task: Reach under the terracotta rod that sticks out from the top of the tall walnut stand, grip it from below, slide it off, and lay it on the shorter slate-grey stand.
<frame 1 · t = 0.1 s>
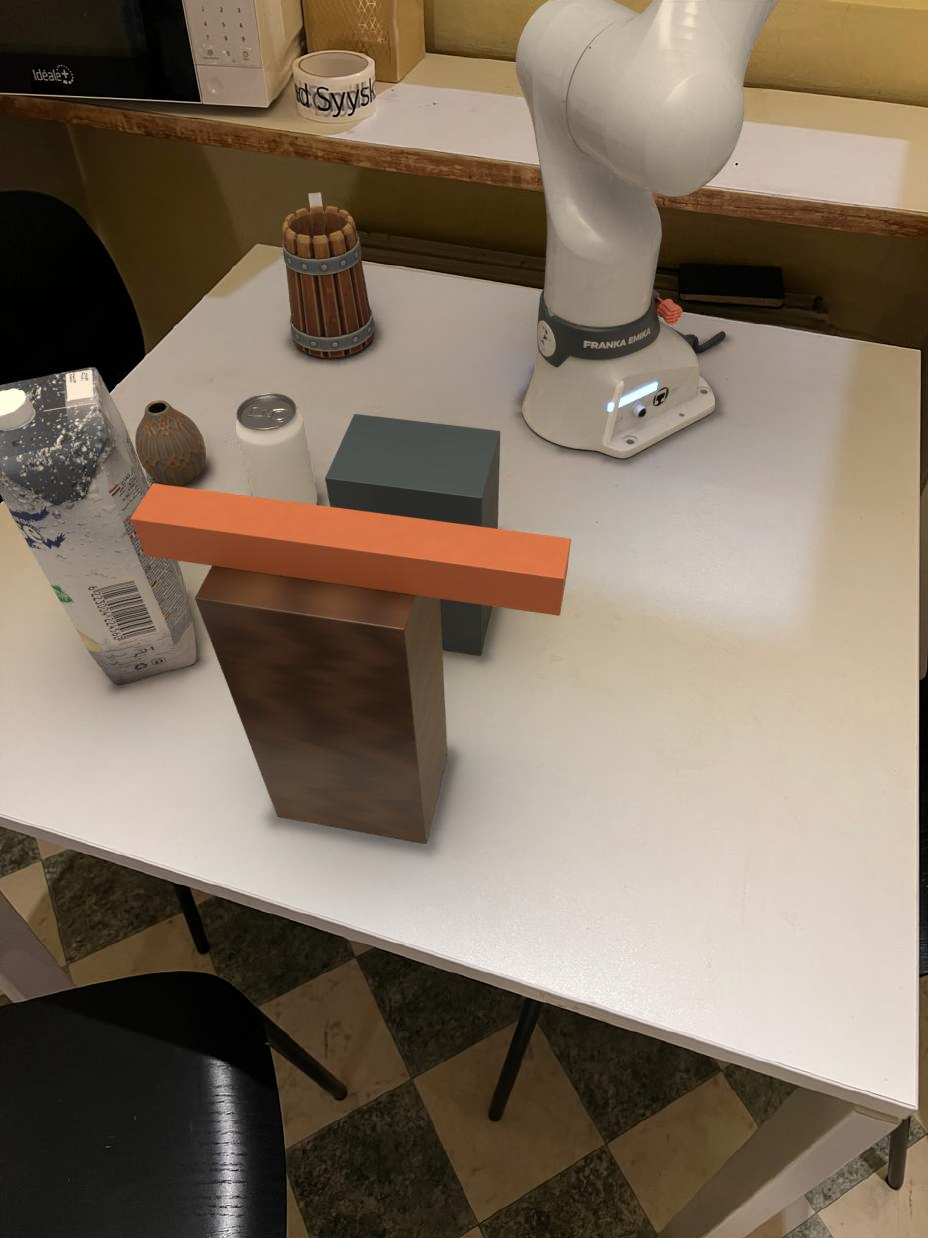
can: (287, 506, 91), on the table
mug: (333, 328, 112), on the table
rod: (353, 566, 49), point 26 cm above the table, touching tall stand
lower stand: (425, 613, 81), on the table
vase: (180, 475, 94), on the table
tall stand: (364, 785, 69), on the table
juice carton: (151, 642, 79), on the table
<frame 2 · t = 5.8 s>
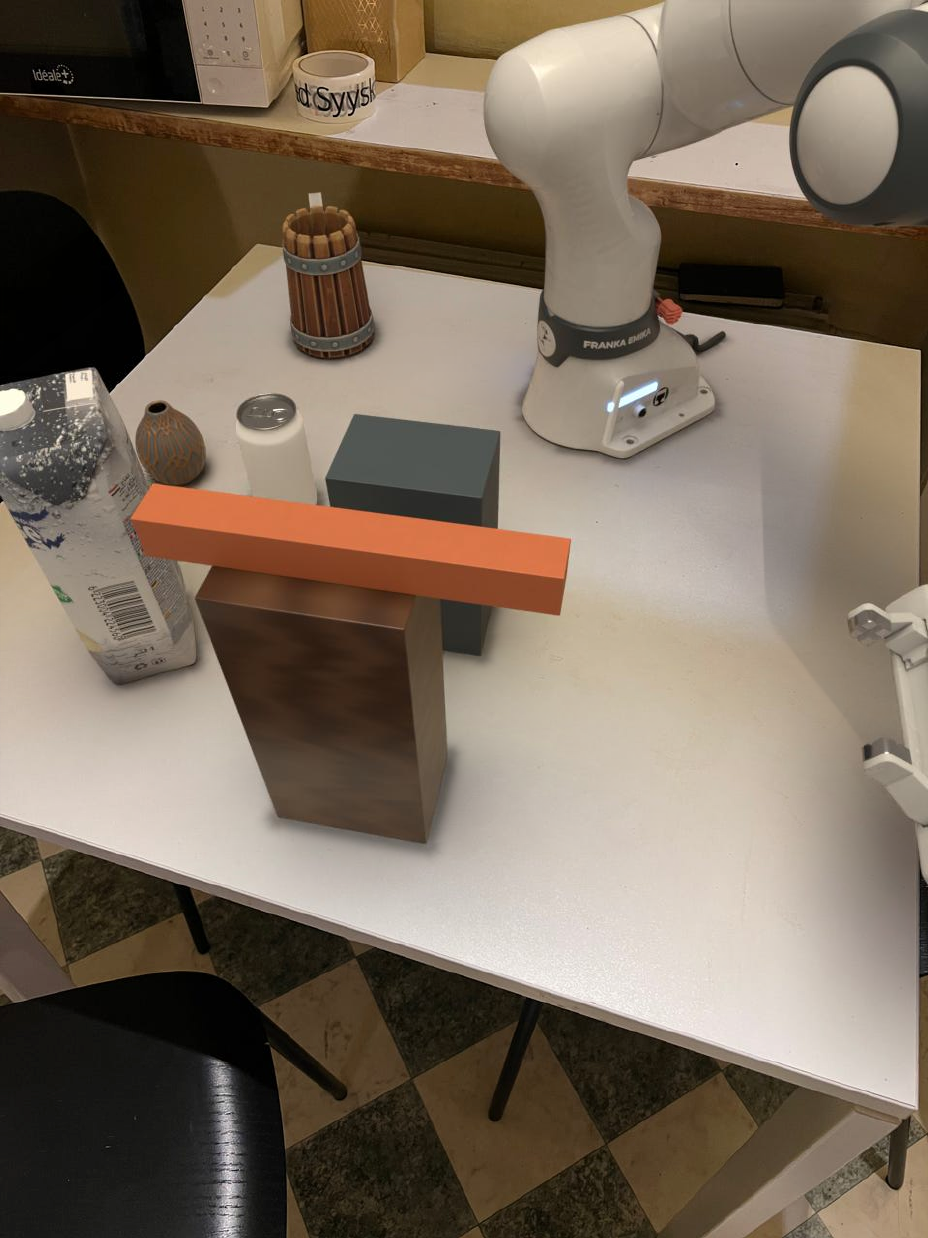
hand: (863, 681, 48), 22 cm above the table, tool pointing upward, fingers open, 8 cm apart
nothing on the table moved.
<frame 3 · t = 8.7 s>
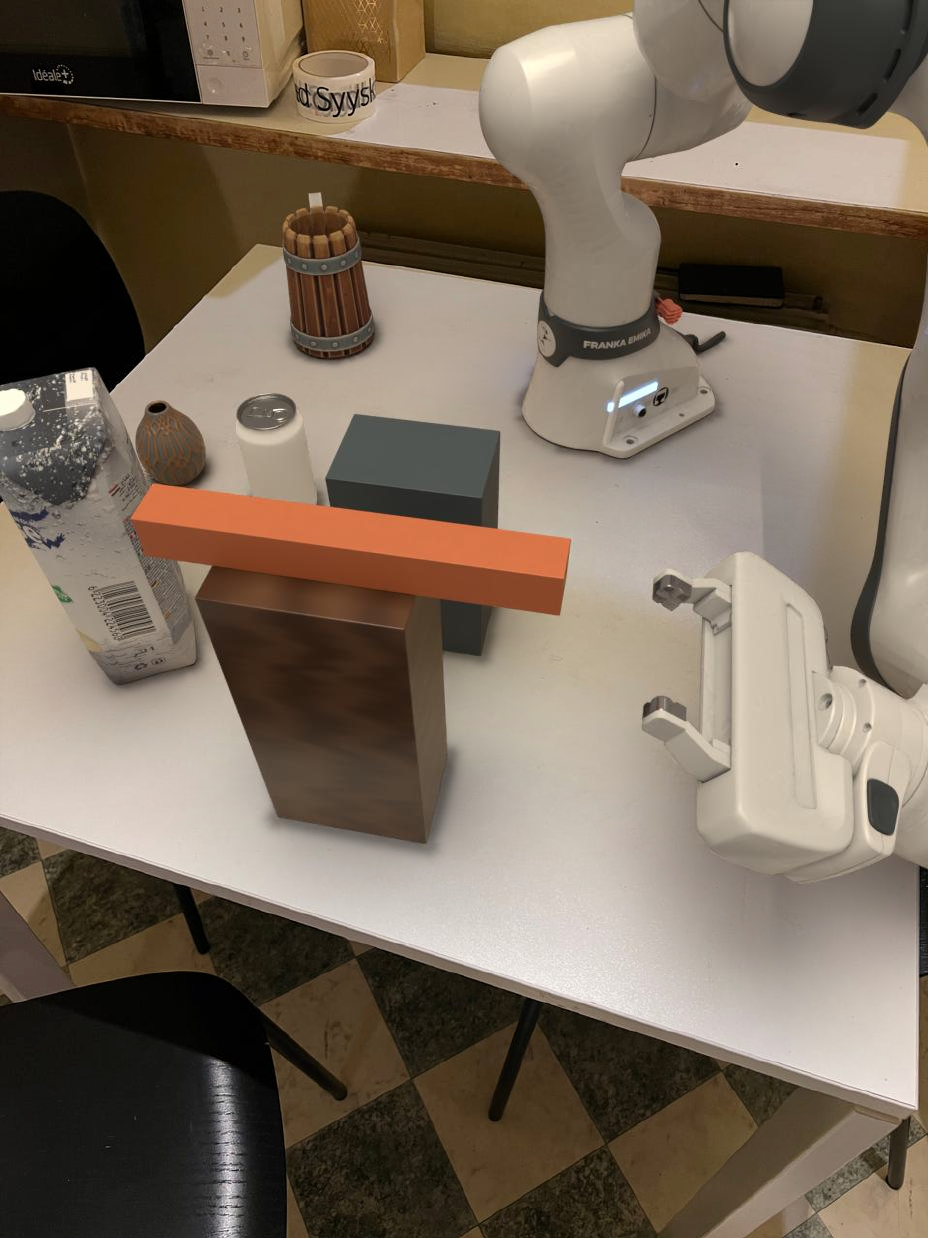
hand: (654, 642, 49), 23 cm above the table, tool pointing upward, fingers open, 8 cm apart
nothing on the table moved.
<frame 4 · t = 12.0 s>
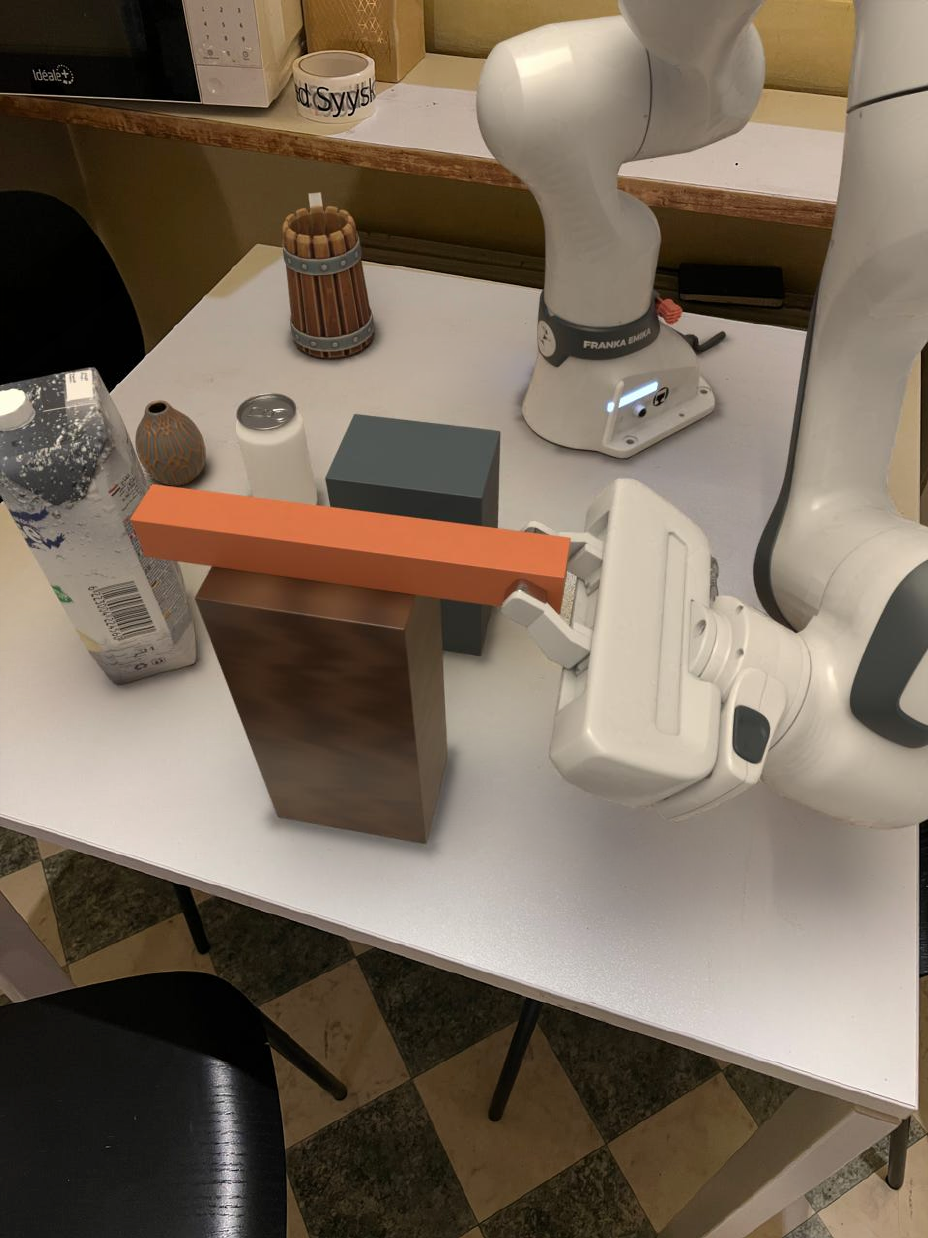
hand: (514, 564, 46), 28 cm above the table, tool pointing upward, fingers closed on rod, 3 cm apart
rod: (353, 566, 49), point 26 cm above the table, touching gripper, tall stand
everything else where it was.
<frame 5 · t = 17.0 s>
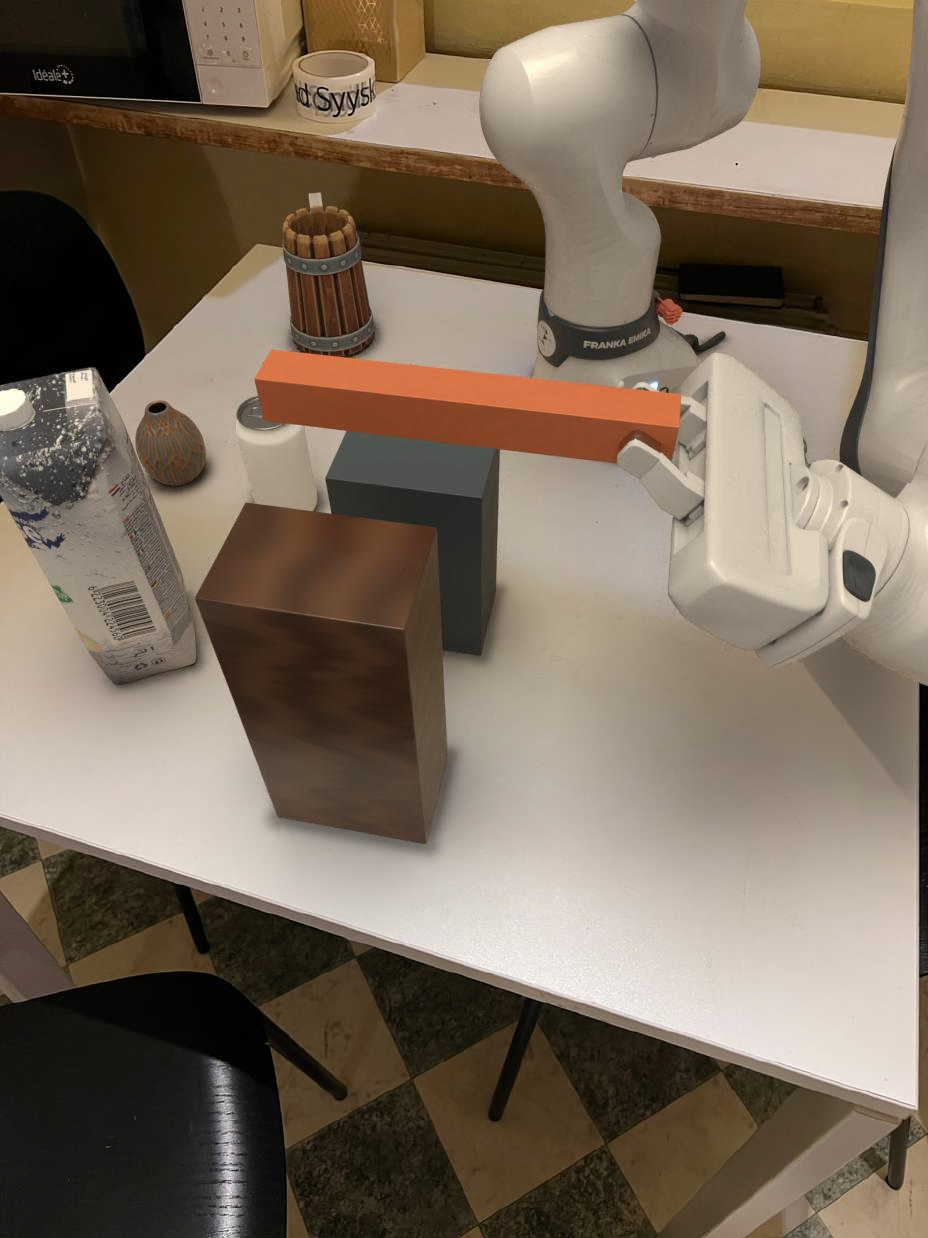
hand: (627, 420, 48), 32 cm above the table, tool pointing upward, fingers closed on rod, 3 cm apart
rod: (465, 428, 51), point 30 cm above the table, touching gripper
everything else where it was.
when the fingers open (21 cm above the table, at t = 22.2 s): rod stays where it is, resting on lower stand.
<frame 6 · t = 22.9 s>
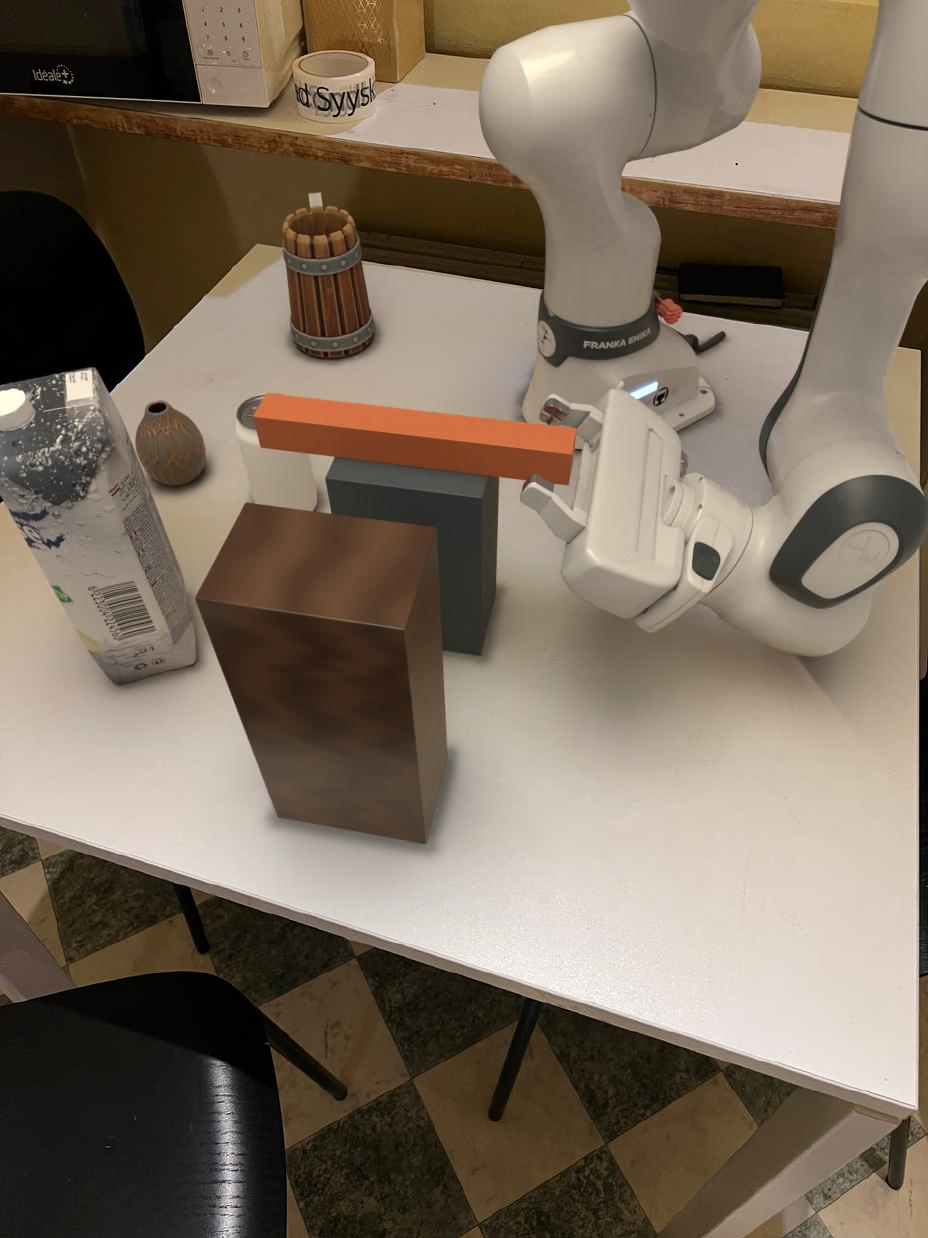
hand: (535, 443, 63), 21 cm above the table, tool pointing upward, fingers open, 8 cm apart
rod: (415, 453, 66), point 19 cm above the table, touching lower stand
everything else where it was.
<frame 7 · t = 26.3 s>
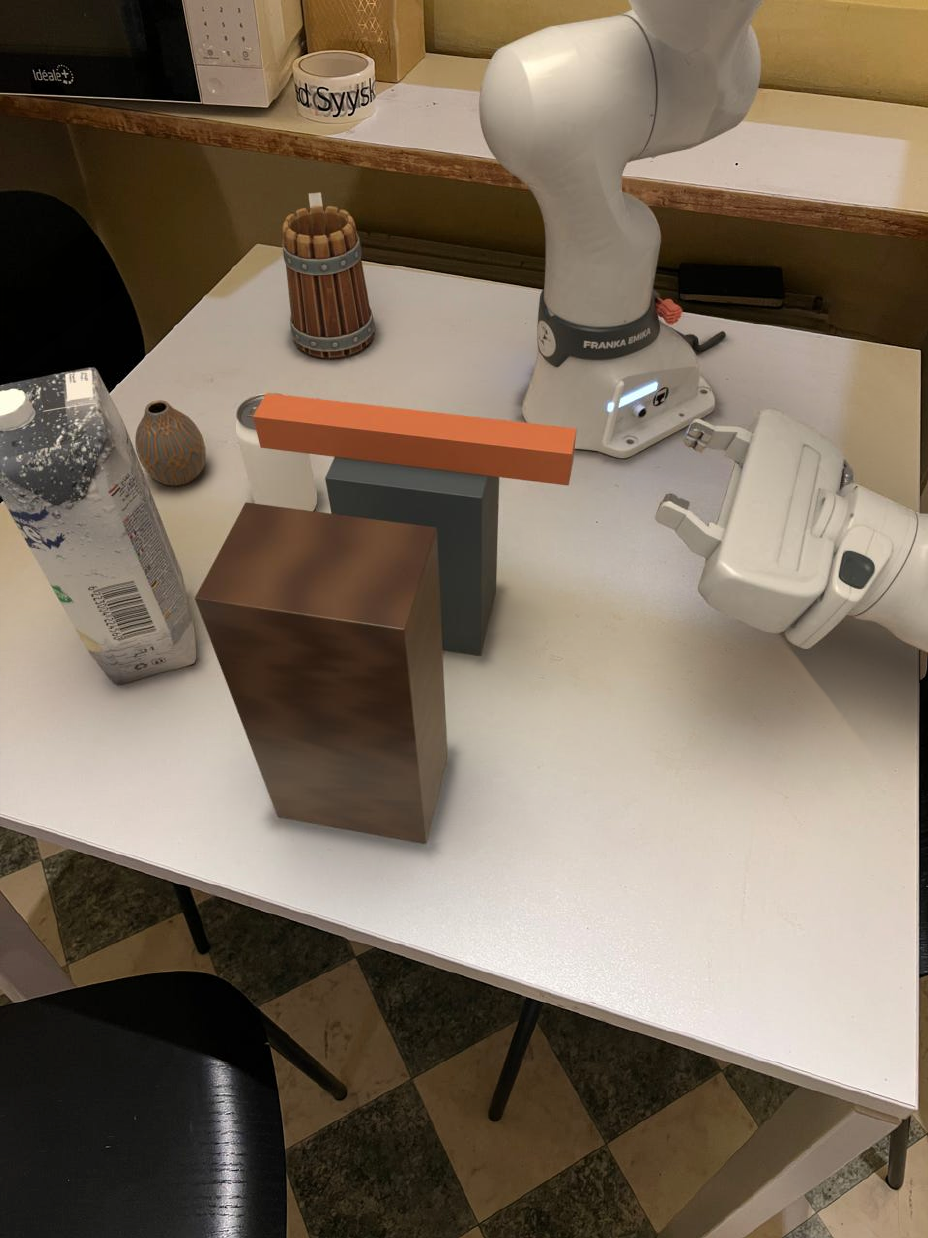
hand: (674, 466, 65), 19 cm above the table, tool pointing upward, fingers open, 8 cm apart
nothing on the table moved.
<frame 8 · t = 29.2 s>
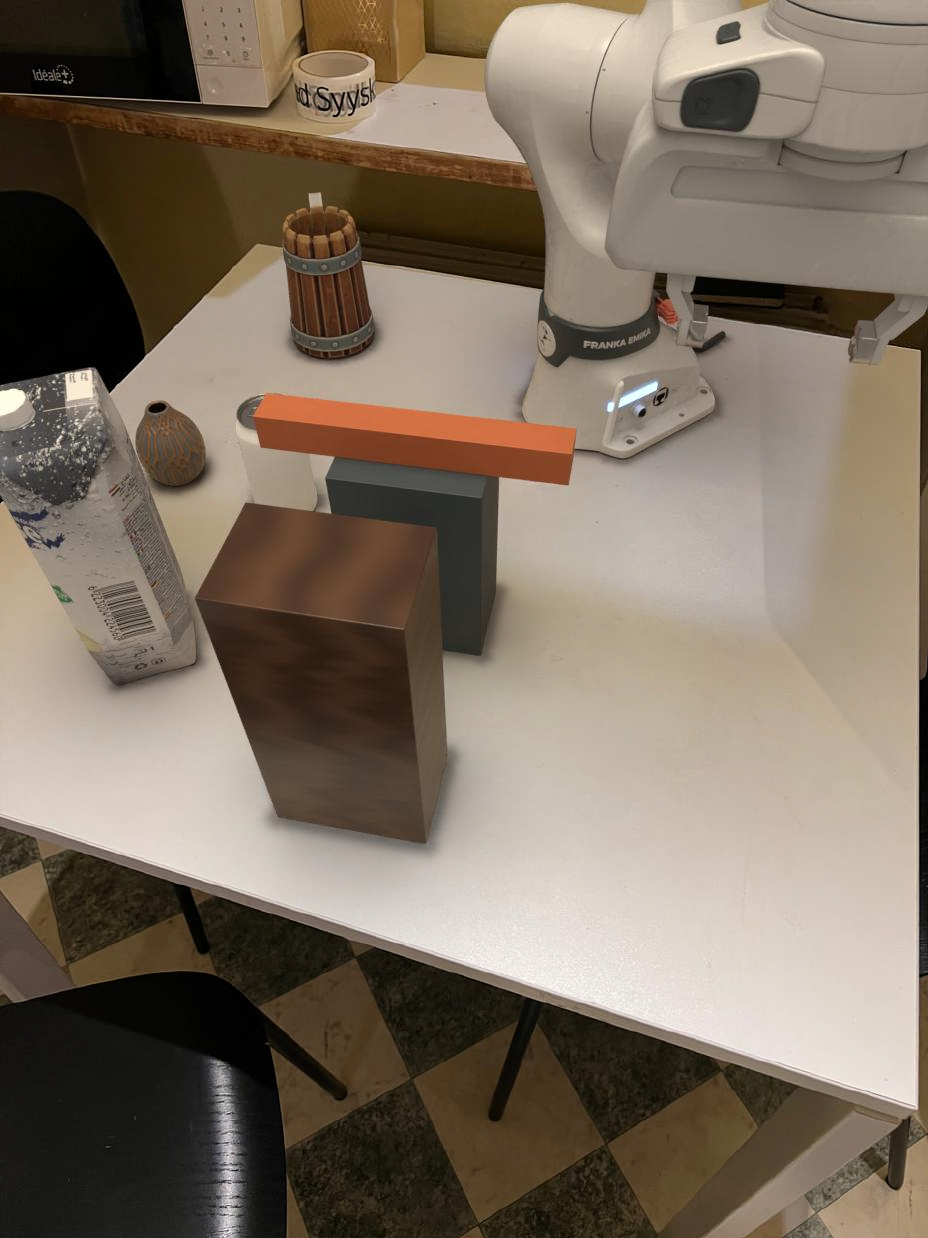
hand: (774, 349, 48), 34 cm above the table, tool pointing down, fingers open, 8 cm apart
nothing on the table moved.
at the end: rod inside the target area on the lower stand (0.1 cm from its centre), point 19.0 cm above the lower stand's base; rod touching lower stand; the gripper is holding nothing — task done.
